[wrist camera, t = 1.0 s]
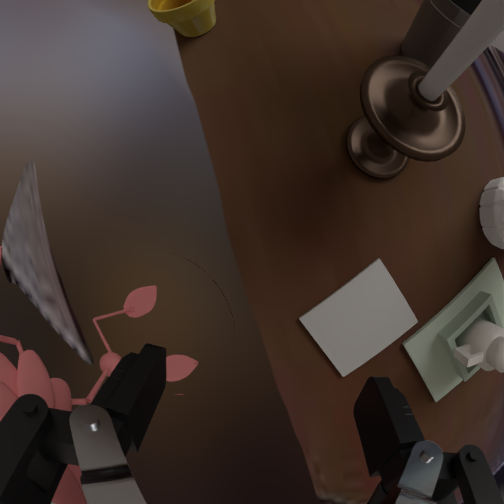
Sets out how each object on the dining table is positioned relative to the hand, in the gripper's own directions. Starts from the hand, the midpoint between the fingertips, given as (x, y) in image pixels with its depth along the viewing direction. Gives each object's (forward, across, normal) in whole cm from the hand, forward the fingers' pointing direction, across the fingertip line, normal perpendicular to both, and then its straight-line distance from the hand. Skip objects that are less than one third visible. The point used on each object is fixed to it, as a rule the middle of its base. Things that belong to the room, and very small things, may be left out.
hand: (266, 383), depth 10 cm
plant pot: (+37, +17, -32) cm, 52 cm away
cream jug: (+20, -32, +9) cm, 39 cm away
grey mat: (+24, -14, +9) cm, 29 cm away
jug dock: (+21, -33, +8) cm, 40 cm away
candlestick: (+29, -13, -14) cm, 35 cm away
